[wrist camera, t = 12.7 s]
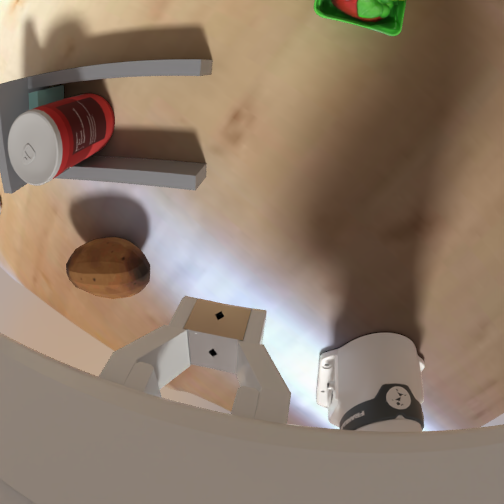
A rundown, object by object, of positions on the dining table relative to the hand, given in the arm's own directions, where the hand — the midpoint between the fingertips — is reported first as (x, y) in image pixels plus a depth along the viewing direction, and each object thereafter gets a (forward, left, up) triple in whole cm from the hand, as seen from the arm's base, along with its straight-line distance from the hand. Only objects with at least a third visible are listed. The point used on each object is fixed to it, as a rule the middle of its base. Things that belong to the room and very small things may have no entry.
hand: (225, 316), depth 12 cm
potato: (-17, +19, -25) cm, 36 cm away
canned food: (+1, +23, -25) cm, 34 cm away
